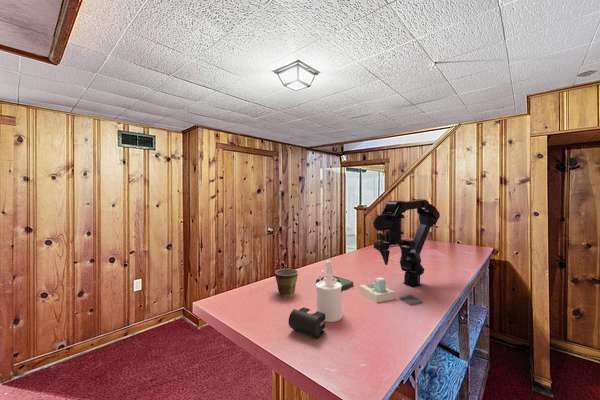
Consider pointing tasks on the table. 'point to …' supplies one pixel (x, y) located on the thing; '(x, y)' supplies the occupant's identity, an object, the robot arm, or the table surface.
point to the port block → (376, 293)
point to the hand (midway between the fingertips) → (394, 263)
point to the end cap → (307, 322)
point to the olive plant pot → (286, 281)
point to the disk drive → (344, 282)
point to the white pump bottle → (329, 296)
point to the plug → (380, 285)
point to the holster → (410, 299)
